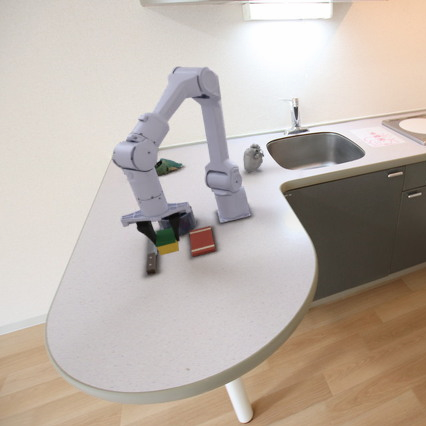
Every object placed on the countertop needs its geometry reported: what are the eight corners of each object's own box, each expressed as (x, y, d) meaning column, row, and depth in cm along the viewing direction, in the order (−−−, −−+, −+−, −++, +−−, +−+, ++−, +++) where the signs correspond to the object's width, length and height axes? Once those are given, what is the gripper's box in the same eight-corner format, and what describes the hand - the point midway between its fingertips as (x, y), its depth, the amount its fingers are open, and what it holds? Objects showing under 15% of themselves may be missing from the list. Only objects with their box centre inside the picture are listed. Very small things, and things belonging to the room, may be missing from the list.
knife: (158, 231, 94) (156, 227, 93) (156, 272, 78) (154, 268, 78) (150, 233, 93) (148, 229, 92) (147, 275, 78) (145, 271, 77)
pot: (195, 215, 101) (190, 200, 98) (197, 231, 93) (192, 215, 90) (161, 222, 98) (156, 207, 95) (161, 239, 90) (155, 224, 87)
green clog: (132, 172, 131) (128, 160, 129) (183, 164, 138) (180, 153, 135) (131, 181, 124) (127, 169, 121) (184, 173, 131) (181, 161, 128)
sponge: (178, 237, 81) (174, 226, 79) (178, 250, 76) (174, 239, 74) (160, 241, 79) (156, 231, 77) (160, 255, 75) (155, 244, 73)
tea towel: (210, 227, 94) (210, 225, 94) (215, 250, 85) (214, 248, 85) (190, 232, 93) (189, 230, 92) (192, 256, 83) (191, 254, 83)
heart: (252, 162, 135) (245, 137, 127) (270, 165, 131) (264, 140, 123) (239, 175, 129) (229, 149, 121) (257, 178, 125) (249, 153, 117)
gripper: (110, 210, 64) (134, 259, 71) (184, 194, 69) (199, 243, 76) (114, 195, 70) (136, 242, 77) (182, 181, 74) (197, 227, 81)
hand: (167, 241), depth 77 cm, fingers closed on sponge, 4 cm apart
